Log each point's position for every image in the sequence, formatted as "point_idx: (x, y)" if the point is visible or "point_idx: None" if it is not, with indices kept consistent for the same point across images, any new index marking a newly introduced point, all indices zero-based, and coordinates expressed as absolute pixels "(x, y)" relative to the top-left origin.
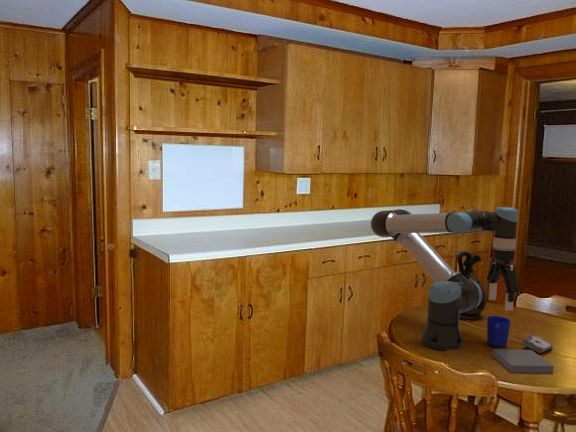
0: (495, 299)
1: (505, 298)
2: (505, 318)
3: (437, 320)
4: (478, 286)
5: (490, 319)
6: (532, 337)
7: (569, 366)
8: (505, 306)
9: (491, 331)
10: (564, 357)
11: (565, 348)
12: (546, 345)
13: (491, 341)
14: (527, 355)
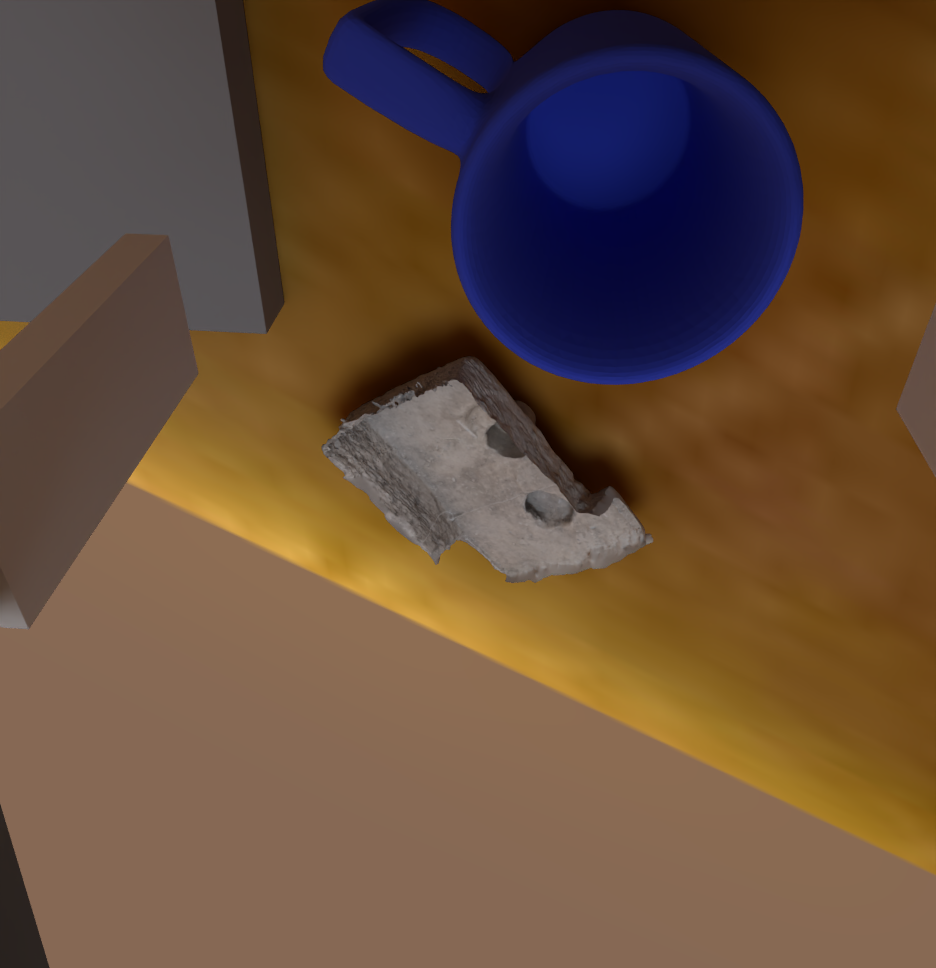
0: (905, 405)
1: (43, 354)
2: (667, 360)
3: None
4: None
5: (751, 144)
6: (619, 512)
7: (141, 478)
8: (106, 266)
9: (556, 43)
10: (316, 537)
11: (498, 631)
12: (514, 540)
13: (558, 28)
14: (99, 215)
